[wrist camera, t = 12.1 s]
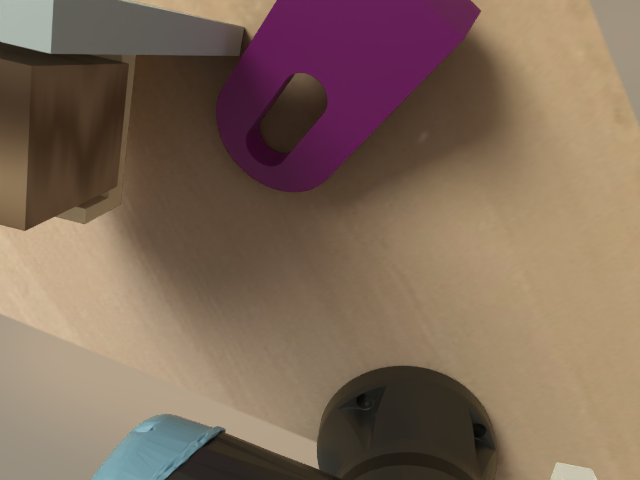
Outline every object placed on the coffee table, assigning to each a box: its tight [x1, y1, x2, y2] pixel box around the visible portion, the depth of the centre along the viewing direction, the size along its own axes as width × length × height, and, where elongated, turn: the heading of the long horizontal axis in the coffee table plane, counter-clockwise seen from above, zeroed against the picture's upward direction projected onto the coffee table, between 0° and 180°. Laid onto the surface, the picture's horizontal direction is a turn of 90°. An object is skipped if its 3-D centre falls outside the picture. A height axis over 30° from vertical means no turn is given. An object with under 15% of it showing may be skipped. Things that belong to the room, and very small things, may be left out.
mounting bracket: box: [216, 0, 481, 192], centre depth 38 cm, size 10×8×18 cm
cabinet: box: [0, 42, 129, 231], centre depth 31 cm, size 9×7×10 cm
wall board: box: [0, 0, 244, 224], centre depth 31 cm, size 14×17×24 cm
